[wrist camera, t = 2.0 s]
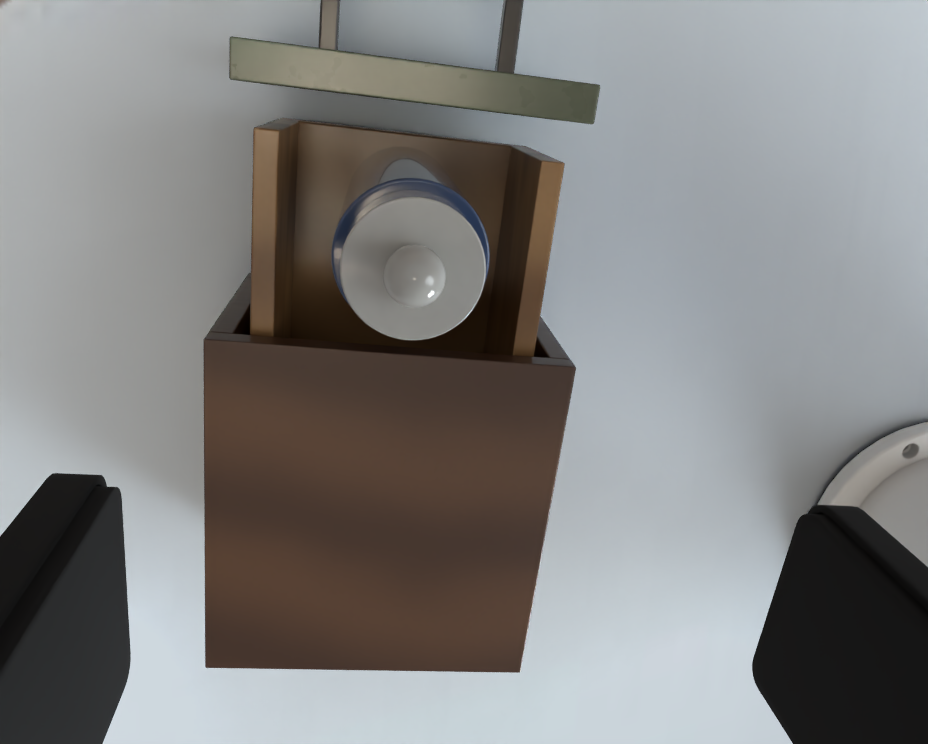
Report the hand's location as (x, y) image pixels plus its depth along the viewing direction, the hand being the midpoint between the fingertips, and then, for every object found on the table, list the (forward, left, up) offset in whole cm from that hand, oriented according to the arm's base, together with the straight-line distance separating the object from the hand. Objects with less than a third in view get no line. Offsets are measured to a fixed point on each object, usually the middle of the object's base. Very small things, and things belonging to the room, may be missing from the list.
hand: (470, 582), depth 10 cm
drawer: (0, -3, -23) cm, 24 cm away
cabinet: (0, +9, -24) cm, 26 cm away
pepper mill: (0, -2, -22) cm, 22 cm away
